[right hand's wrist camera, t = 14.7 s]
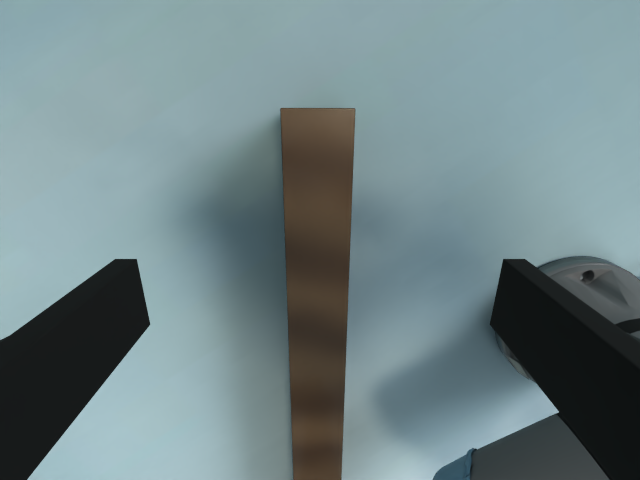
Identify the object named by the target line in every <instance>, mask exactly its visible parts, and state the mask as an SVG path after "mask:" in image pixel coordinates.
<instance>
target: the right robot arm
mask: <svg viewBox="0 0 640 480" xmlns="http://www.w3.org/2000/svg"><path fill="white" fill-rule="evenodd" d="M149 325H150V321H149V316H148V312H147V307H146V302H145V297H144V292H143V287H142V283H141V278H140V273H139V268H138V263H137V259H115V260H113V261H112V262H111V263H109V264H108V265H106V266H105V267H104V268H102V269H101V270H100V271H98V272H97V273H95V274H94V275H93V276H91V277H90V278H89V279H87V280H86V281H84V282H83V283H82V284H80V285H79V286H77V287H76V288H75V289H73V290H72V291H71V292H69V293H68V294H66V295H65V296H64V297H62V298H61V299H60V300H58V301H57V302H55V303H54V304H53V305H51V306H50V307H49V308H47V309H46V310H44V311H43V312H42V313H40V314H39V315H38V316H36V317H35V318H33V319H32V320H31V321H29V322H28V323H26V324H25V325H24V326H22V327H21V328H20V329H18V330H17V331H15V332H14V333H13V334H11V335H10V336H8V337H6V338H4V339H2V340H0V480H27V479H28V478H29V476H30V475H31V474H32V473H33V471H34V470H35V469H36V468H37V466H38V465H39V464H40V463H41V461H42V460H43V459H44V457H45V456H46V455H47V454H48V452H49V451H50V450H51V449H52V447H53V446H54V445H55V444H56V442H57V441H58V440H59V439H60V437H61V436H62V435H63V434H64V432H65V431H66V430H67V429H68V427H69V426H70V425H71V423H72V422H73V421H74V420H75V418H76V417H77V416H78V415H79V413H80V412H81V411H82V410H83V408H84V407H85V406H86V405H87V403H88V402H89V401H90V400H91V398H92V397H93V396H94V395H95V393H96V392H97V391H98V389H99V388H100V387H101V386H102V384H103V383H104V382H105V381H106V379H107V378H108V377H109V376H110V374H111V373H112V372H113V371H114V369H115V368H116V367H117V366H118V364H119V363H120V362H121V361H122V359H123V358H124V357H125V355H126V354H127V353H128V352H129V350H130V349H131V348H132V347H133V345H134V344H135V343H136V342H137V340H138V339H139V338H140V337H141V335H142V334H143V333H144V332H145V330H146V329H147V328H148V327H149ZM490 325H491V327H492V328H493V329H494V330H495V332H496V339H497V342H498V345H499V347H500V349H501V351H502V352H503V354H504V355H505V356H506V358H507V359H508V360H509V362H510V363H511V364H512V365H513V367H514V368H515V369H516V370H517V372H519V373H520V374H522V375H523V376H525V377H526V378H527V379H531V380H532V381H534V382H535V383H537V384H538V386H539V387H540V388H541V389H542V391H543V392H544V393H545V395H546V396H547V397H548V398H549V400H550V401H551V402H552V403H553V405H554V406H555V407H556V408H557V410H558V411H559V413H557V414H554V415H552V416H549V417H547V418H545V419H543V420H541V421H539V422H536V423H534V424H532V425H530V426H528V427H525V428H523V429H521V430H519V431H517V432H515V433H512V434H510V435H508V436H506V437H504V438H501V439H499V440H497V441H495V442H493V443H490V444H488V445H486V446H484V447H482V448H480V449H474V448H472V449H470V450H469V451H468V452H467V454H466V455H464V456H463V457H461V458H459V459H457V460H455V461H453V462H451V463H450V464H448V465H446V466H444V467H442V468H441V469H440V470H439V471H438V472H437V473H436V474H435V476H434V478H433V480H640V280H639V279H638V278H637V277H636V276H634V275H633V274H632V273H630V272H628V271H627V270H625V269H623V268H621V267H619V266H617V265H615V264H613V263H611V262H609V261H607V260H604V259H600V258H595V257H586V256H581V257H570V258H564V259H560V260H557V261H554V262H551V263H548V264H546V265H544V266H542V267H540V268H536V267H535V266H534V265H532V264H531V263H529V262H528V261H527V260H525V259H503V263H502V268H501V273H500V278H499V283H498V287H497V292H496V297H495V302H494V307H493V312H492V316H491V321H490Z"/></svg>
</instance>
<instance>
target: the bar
mask: <svg viewBox="0 0 640 480" xmlns="http://www.w3.org/2000/svg"><path fill="white" fill-rule="evenodd" d="M280 111H281V139H282V168H283V196H284V224H285V253H286V281H287V309H288V338H289V366H290V394H291V423H292V451H293V479H294V480H341V472H342V446H343V420H344V393H345V367H346V341H347V314H348V288H349V262H350V235H351V209H352V183H353V156H354V130H355V108H281V109H280Z"/></svg>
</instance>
